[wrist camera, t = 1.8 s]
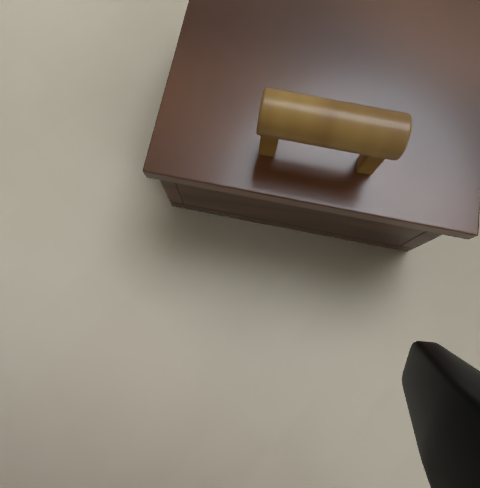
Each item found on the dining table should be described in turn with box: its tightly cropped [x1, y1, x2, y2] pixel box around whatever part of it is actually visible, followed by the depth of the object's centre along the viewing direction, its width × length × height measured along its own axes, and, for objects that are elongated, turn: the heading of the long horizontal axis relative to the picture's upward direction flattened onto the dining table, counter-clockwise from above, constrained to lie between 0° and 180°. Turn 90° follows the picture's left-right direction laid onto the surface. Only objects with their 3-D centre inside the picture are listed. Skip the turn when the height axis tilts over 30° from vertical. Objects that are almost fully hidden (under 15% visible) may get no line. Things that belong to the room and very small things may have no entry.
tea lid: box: [143, 0, 480, 239], centre depth 16 cm, size 12×14×4 cm
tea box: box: [160, 180, 442, 251], centre depth 21 cm, size 12×14×6 cm
